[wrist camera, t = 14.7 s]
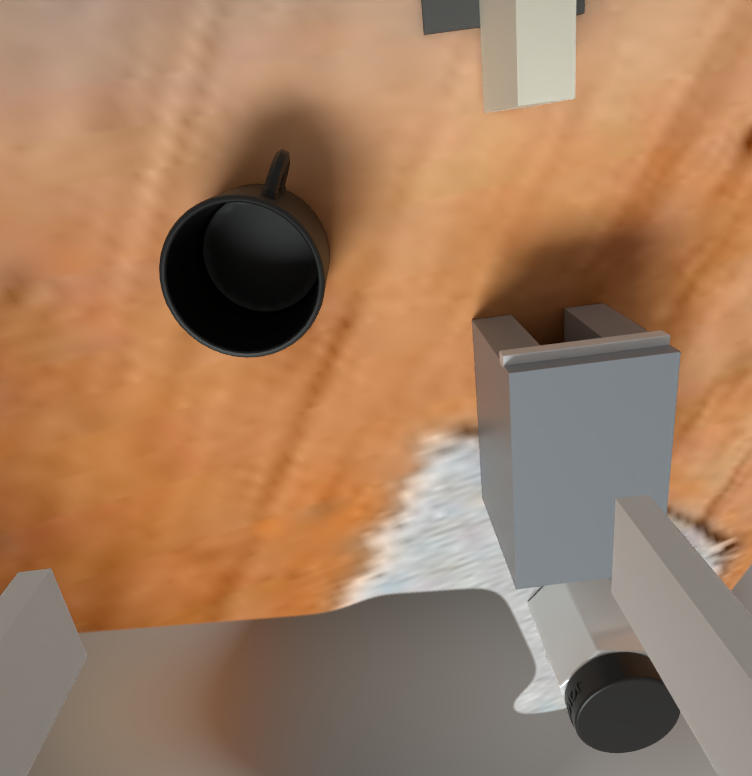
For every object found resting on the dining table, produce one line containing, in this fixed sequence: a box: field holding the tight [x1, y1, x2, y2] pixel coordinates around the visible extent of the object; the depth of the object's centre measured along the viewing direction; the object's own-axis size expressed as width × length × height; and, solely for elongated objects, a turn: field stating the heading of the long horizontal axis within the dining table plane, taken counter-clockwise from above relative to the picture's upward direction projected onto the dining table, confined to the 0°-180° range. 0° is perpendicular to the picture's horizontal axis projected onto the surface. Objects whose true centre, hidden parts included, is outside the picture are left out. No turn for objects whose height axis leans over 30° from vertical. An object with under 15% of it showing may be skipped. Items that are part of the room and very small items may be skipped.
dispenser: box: [472, 303, 681, 589], centre depth 42 cm, size 10×17×11 cm, turn 7°
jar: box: [528, 578, 680, 753], centre depth 50 cm, size 9×8×12 cm
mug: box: [159, 149, 330, 357], centre depth 38 cm, size 9×12×9 cm
